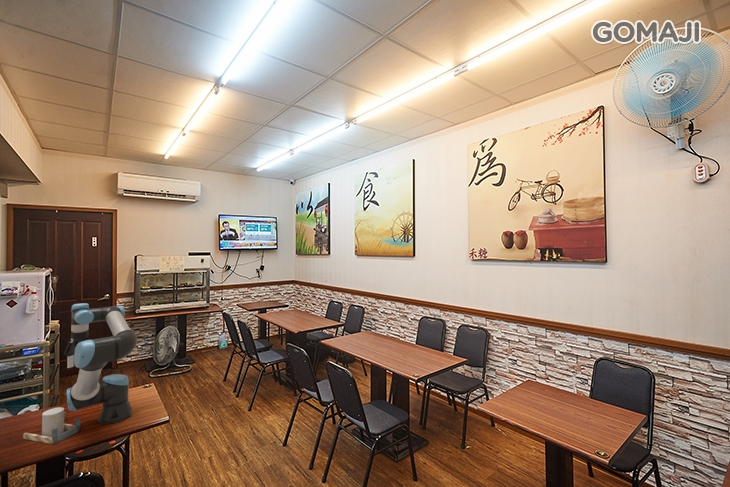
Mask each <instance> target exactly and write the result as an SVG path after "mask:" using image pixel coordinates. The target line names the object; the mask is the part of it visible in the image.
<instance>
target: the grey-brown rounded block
mask: <svg viewBox="0 0 730 487" xmlns="http://www.w3.org/2000/svg"><path fill="white" fill-rule="evenodd" d="M59 407H60V406H59ZM59 407H58V406H55V407H53V408H59ZM53 408H52V407H51V408H50V409H53ZM63 408H64V421H66V420H67V412H66V407H63Z"/></svg>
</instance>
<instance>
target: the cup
mask: <svg viewBox="0 0 730 487" xmlns="http://www.w3.org/2000/svg"><path fill="white" fill-rule="evenodd" d="M64 408H65V407H60V406H59V408H55V407H53V409H51V408H49V409H47V410H45V411H44V412H42V414H41V417H42V418H41V419H42V420H41V435H42V436H48V437H52V429H54V428H58V435H59V434H61V433H63V432H65V430H64V423H65V420H64V412H65V411H64Z"/></svg>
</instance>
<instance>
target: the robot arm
mask: <svg viewBox="0 0 730 487" xmlns="http://www.w3.org/2000/svg"><path fill="white" fill-rule="evenodd" d="M89 305H90V304H89V303H87V302H86V303H84V302H83V303H74V304H73V305H71V310H70V312H71V325H70V326H71V327H70V329H71V330H70V331H71V334H70V335H71V337H70V338H69V339H68V341H67V342H68V343H67V345H66V347H65V349H64V353H63V355H64V356H66V361H67V362H66V363H67V367H66V368H67V369H71V368H73V367H76V368H77V369H79V371H78V376H77V379H76V382H75V383H74V384H73V385H72V387H70V388H67V389H66V401H67V410H68V411H69V412H75V411H79V410H82V409H86V408H89V407H93V406H96V405H101V404H102V407H101V409H100V413H99V415H98V417H97V418H98V423H99V424H101V425H112V424H113V425H114V424H116V423H120V422H123V421H125V420H127V419H128V418H130V417H131V416H132V414H133V409H132V406H131V404H130V401H129V384H130V383H129V377H128V375H126V374H121V373H120V374H119V373H115V374H109V375H106V376H103V377H102V380H100V376H101V372H102V370H103V368H104V367H105V366H106V365H107V364H108V363H109V362H114V361H118V360H122V359H124V358H127V356H130V354H131V353H133V351H134V350H135V348H136V347H137V344H138V339H139V338H138V336H137V333H136V332H135V331H134V330H133V329H131V328H130V326H129V325H128V323H127V321H126V319H125V315H126V310H125V306H123V305H113V306H105V307H97V308H95V307H94V308H90V306H89ZM97 322H98V323H99V322H106V323H107V325H108V327H109V329H110V332H111V334H112V336H108V337H101V338H93V339H87V338H88V337H89V334H90V333H89V324H90V323H97Z"/></svg>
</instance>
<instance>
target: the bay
mask: <svg viewBox="0 0 730 487" xmlns="http://www.w3.org/2000/svg"><path fill="white" fill-rule="evenodd" d="M79 432H81V417H80V416H77V417H75V418H74V424H71V423H69V424H68V423H65V422H64V432H63V433H61V434H59V435H58V428H54V429H52V437H48V436H42V434H36V433H29V432H24V433H23V435H22V436H23V440H29V441H33V442H34V441H35V442H40V443H45V444H52V445H56V444H57V443H59V442H61V441H63V440H65V439H67V438H69V437H71V436H73V435H75V434H77V433H79Z"/></svg>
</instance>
